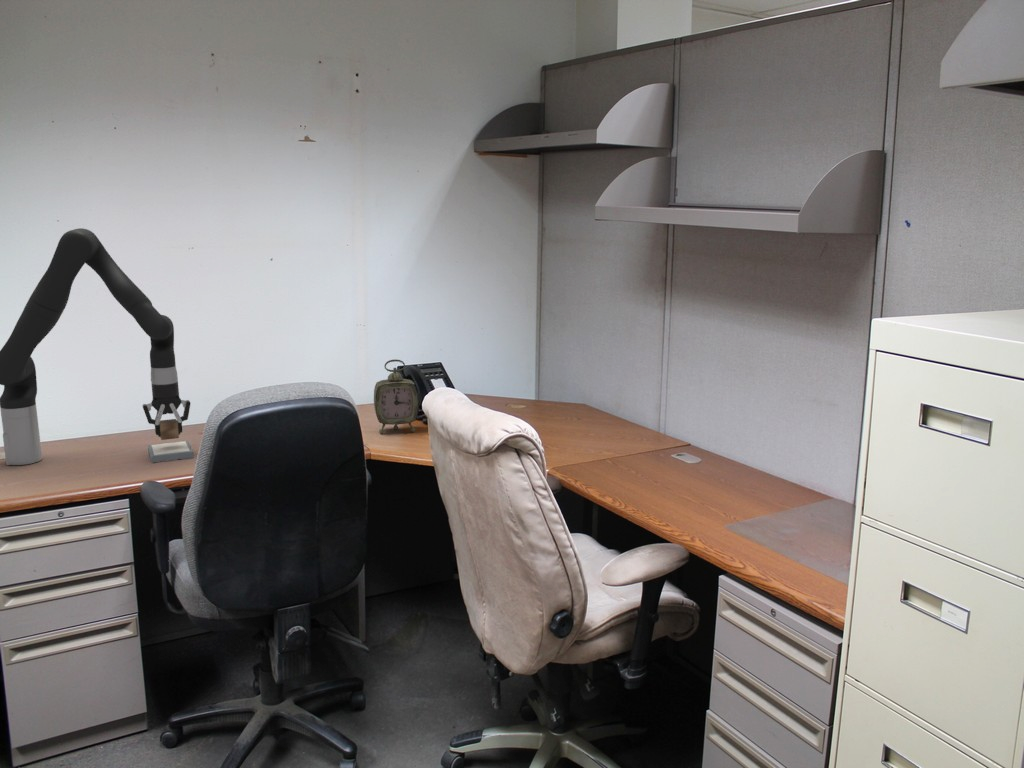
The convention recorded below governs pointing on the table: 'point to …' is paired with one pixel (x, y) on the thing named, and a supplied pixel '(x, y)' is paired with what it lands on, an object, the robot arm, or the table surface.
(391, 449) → the table surface
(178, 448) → the board
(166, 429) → the cube
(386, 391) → the tabletop clock
